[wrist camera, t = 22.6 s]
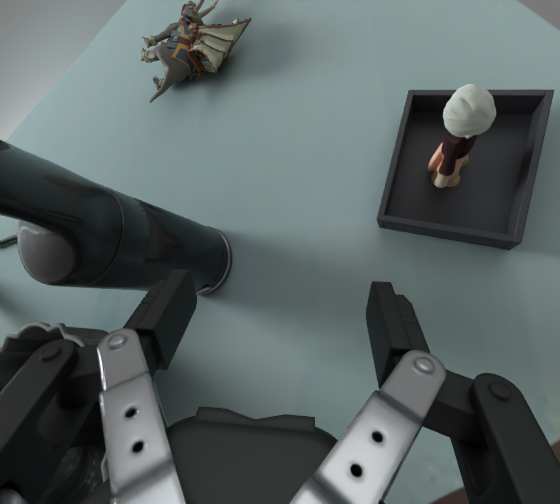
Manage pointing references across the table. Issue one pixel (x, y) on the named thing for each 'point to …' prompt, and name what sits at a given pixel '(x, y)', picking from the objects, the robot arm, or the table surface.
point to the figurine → (191, 46)
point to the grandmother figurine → (461, 132)
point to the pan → (467, 171)
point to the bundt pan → (89, 440)
